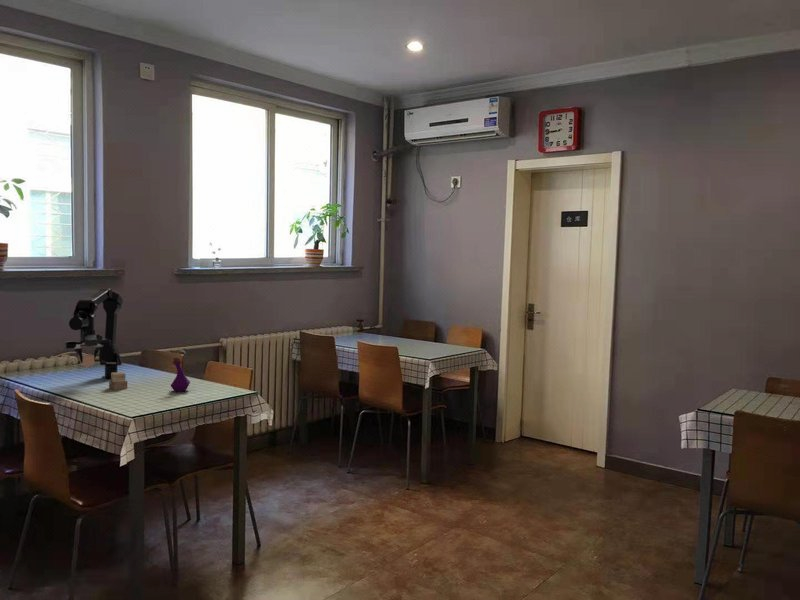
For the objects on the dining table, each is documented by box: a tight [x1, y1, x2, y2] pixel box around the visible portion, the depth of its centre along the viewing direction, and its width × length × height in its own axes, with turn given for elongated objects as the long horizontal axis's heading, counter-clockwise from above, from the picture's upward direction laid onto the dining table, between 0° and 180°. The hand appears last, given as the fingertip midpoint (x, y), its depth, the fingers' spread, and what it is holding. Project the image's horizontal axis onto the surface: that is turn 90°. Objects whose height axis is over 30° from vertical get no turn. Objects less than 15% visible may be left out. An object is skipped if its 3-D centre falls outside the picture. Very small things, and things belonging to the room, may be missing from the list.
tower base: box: [108, 380, 128, 391], centre depth 300 cm, size 6×6×4 cm
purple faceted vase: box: [170, 349, 191, 393], centre depth 297 cm, size 8×8×18 cm
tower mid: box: [110, 371, 126, 382], centre depth 299 cm, size 5×5×4 cm
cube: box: [79, 353, 95, 367], centre depth 300 cm, size 4×4×4 cm
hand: (87, 362), depth 300 cm, fingers closed on cube, 4 cm apart
